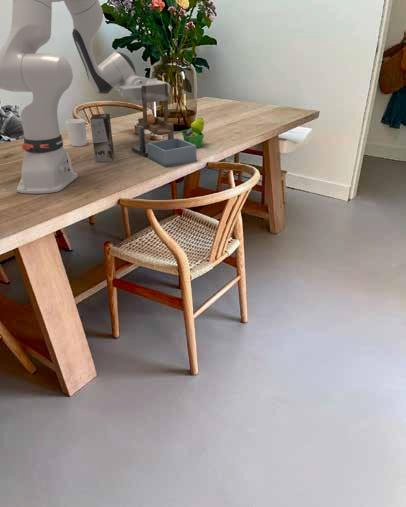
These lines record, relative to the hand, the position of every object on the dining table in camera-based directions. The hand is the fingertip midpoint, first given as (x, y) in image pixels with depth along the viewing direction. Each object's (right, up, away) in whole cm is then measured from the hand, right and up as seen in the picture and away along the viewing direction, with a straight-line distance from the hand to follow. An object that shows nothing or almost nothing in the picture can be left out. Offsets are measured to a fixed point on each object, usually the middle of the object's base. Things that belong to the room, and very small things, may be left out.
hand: (154, 92), depth 161 cm
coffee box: (-20, -24, +5) cm, 32 cm away
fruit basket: (+15, -15, +22) cm, 30 cm away
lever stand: (-1, -19, +13) cm, 23 cm away
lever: (0, -11, +7) cm, 13 cm away
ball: (-3, -7, +9) cm, 12 cm away
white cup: (-35, -14, +23) cm, 45 cm away
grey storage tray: (+7, -25, +3) cm, 26 cm away
